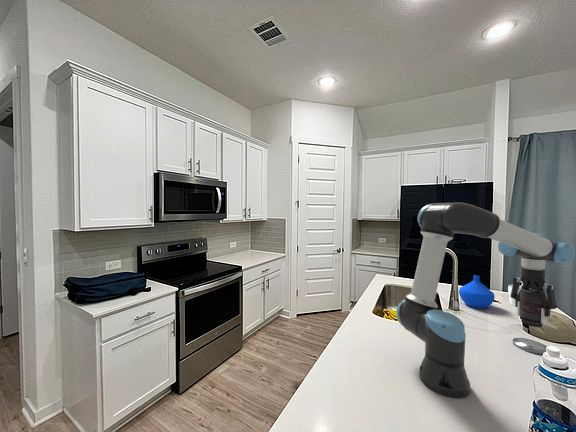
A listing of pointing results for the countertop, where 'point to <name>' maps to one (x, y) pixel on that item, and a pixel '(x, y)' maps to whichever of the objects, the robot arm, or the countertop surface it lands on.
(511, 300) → the cup
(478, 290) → the vase
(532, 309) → the camera lens
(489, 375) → the countertop surface
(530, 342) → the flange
